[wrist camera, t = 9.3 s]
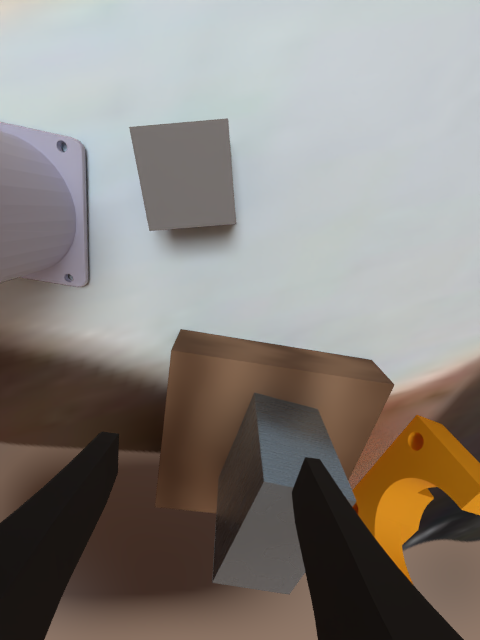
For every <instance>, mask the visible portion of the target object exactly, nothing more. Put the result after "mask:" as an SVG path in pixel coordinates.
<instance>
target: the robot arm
mask: <svg viewBox="0 0 480 640" xmlns="http://www.w3.org/2000/svg"><path fill="white" fill-rule="evenodd" d="M63 142H65V143H66V145H67V150H66V151H65V152H63V151H62V149H61V144H62V143H63ZM68 274H70V275H71V276H72V277H73V281H72V280H70V279H69V278H68ZM18 277H21V278H27V279H33V280H39V281H45V282H51V283H57V284H62V285H68V286H74V287H82V286H84V285H86V284H87V283H88V244H87V201H86V158H85V148H84V146H83V144H82V143H81V142H80V141H79V140H77V139H74V138H72V137H68V136H63V135H59V134H54V133H49V132H45V131H40V130H35V129H31V128H26V127H22V126H17V125H12V124H8V123H3V122H0V283H2V282H5V281H8V280H11V279H15V278H18ZM118 444H119V434H116V433H108V432H101V433H99V434H98V435H97V436H96V437H95V438H94V439H93V440H92V441H91V442H90V443H89V444H88V445H87V446H86V447H85V448H84V449H83V450H82V451H81V452H80V453H79V454H78V455H77V456H76V457H75V458H74V459H73V460H72V461H71V462H70V463H69V464H68V465H67V466H66V467H65V468H63V469H62V470H61V471H60V472H59V473H58V474H57V475H56V476H55V477H54V478H53V479H51V481H49V482H48V483H47V484H46V485H45V486H44V487H43V488H41V489H40V490H39V491H38V492H37V493H36V494H34V495H33V496H32V497H31V498H30V499H29V500H27V501H26V502H25V503H24V504H23V505H22V506H20V507H19V508H18V509H17V510H16V511H14V513H12V514H11V515H10V516H8V517H7V518H6V519H5V520H3V521H2V522H1V523H0V640H44V639H45V636H46V634H47V631H48V629H49V626H50V624H51V621H52V619H53V617H54V614H55V612H56V609H57V607H58V604H59V601H60V599H61V597H62V595H63V592H64V590H65V588H66V586H67V584H68V582H69V579H70V577H71V575H72V573H73V571H74V569H75V567H76V565H77V563H78V561H79V559H80V557H81V555H82V553H83V551H84V549H85V547H86V545H87V542H88V540H89V538H90V536H91V534H92V532H93V530H94V528H95V526H96V524H97V522H98V520H99V518H100V516H101V514H102V511H103V509H104V507H105V505H106V503H107V500H108V498H109V495H110V492H111V490H112V487H113V484H114V482H115V479H116V476H117V473H118ZM292 501H293V511H294V519H295V525H296V530H297V535H298V540H299V544H300V549H301V554H302V558H303V563H304V567H305V572H306V576H307V581H308V586H309V590H310V595H311V599H312V605H313V610H314V616H315V621H316V629H317V636H318V640H464V639H463V638H462V637H461V636H460V635H459V634H458V633H457V632H456V631H455V630H454V629H453V628H452V627H451V626H450V625H449V624H448V623H447V622H446V620H445V619H444V618H443V617H442V616H441V615H440V614H439V613H438V612H437V611H436V610H435V609H434V608H433V607H432V605H431V604H430V603H429V602H428V601H427V600H426V599H425V598H424V597H423V596H422V594H421V593H420V592H419V591H418V590H417V589H416V588H415V586H414V585H413V584H412V583H411V582H410V581H409V579H408V578H407V577H406V576H405V575H404V574H403V572H402V571H401V570H400V569H399V568H398V566H397V565H396V564H395V563H394V562H393V560H392V559H391V558H390V557H389V555H388V554H387V553H386V552H385V550H384V549H383V548H382V547H381V545H380V544H379V543H378V541H377V540H376V539H375V537H374V536H373V535H372V534H371V532H370V531H369V529H368V528H367V527H366V525H365V524H364V523H363V521H362V520H361V518H360V517H359V516H358V514H357V513H356V511H355V510H354V509H353V507H352V506H351V504H350V503H349V502H348V500H347V499H346V497H345V496H344V494H343V493H342V491H341V490H340V488H339V487H338V485H337V484H336V482H335V481H334V479H333V478H332V476H331V475H330V473H329V472H328V470H327V469H326V467H325V466H324V464H323V463H322V462H321V460H320V459H316V458H308V457H305V458H304V461H303V464H302V466H301V469H300V471H299V474H298V477H297V479H296V482H295V485H294V487H293V490H292Z"/></svg>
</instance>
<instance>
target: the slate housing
mask: <svg viewBox="0 0 480 640" xmlns="http://www.w3.org/2000/svg"><path fill="white" fill-rule="evenodd" d="M305 457H308V458H316V459H320V460H321V462H322V463H323V464H324V466H325V467H326V469H327V470H328V472H329V473H330V475H331V476H332V478H333V479H334V481H335V482H336V484H337V485H338V487H339V488H340V490H341V491H342V493H343V494H344V496H345V497H346V499H347V500H348V502H349V503H350V504H351V506H352V507H353V505H354V504H355V503H356V499H355V496H354V494H353V491H352V489H351V487H350V484H349V482H348V480H347V477H346V475H345V472H344V470H343V468H342V465H341V463H340V461H339V458H338V456H337V453H336V451H335V449H334V446H333V444H332V442H331V439H330V437H329V434H328V432H327V430H326V427H325V425H324V423H323V420H322V418H321V415H320V413H319V411H318V409H316V408H312V407H308V406H304V405H300V404H297V403H293V402H289V401H285V400H281V399H277V398H273V397H270V396H266V395H262V394H258V393H254V395H253V397H252V399H251V402H250V404H249V406H248V409H247V411H246V414H245V416H244V418H243V421H242V423H241V426H240V428H239V430H238V433H237V435H236V437H235V440H234V442H233V445H232V447H231V449H230V452H229V454H228V457H227V459H226V461H225V464H224V466H223V469H222V471H221V473H220V476H219V479H218V496H217V512H216V529H215V530H216V531H215V547H214V563H213V579H212V580H213V581H212V582H213V583H219V584H225V585H231V586H238V587H244V588H251V589H258V590H264V591H270V592H277V593H283V594H290V593H291V591H292V590H293V589H294V587H295V586H296V584H297V583H298V582H299V580H300V579H301V577H302V576H303V575H304V573H305V567H304V563H303V558H302V554H301V549H300V544H299V540H298V535H297V530H296V525H295V519H294V511H293V501H292V490H293V487H294V485H295V482H296V479H297V477H298V474H299V471H300V469H301V466H302V464H303V461H304V458H305Z"/></svg>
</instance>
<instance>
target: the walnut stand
mask: <svg viewBox="0 0 480 640" xmlns="http://www.w3.org/2000/svg"><path fill="white" fill-rule="evenodd" d="M393 387H394V384H393V383H392V382H391V380H390V379H389V378H388V377H387V376H386V375H385V374H384V373H383V372H382V371H381V370H380V368H379V367H378V366H377V365H376V364H375V363H374V362H373V361H372V360H368V359H362V358H355V357H349V356H343V355H337V354H331V353H324V352H318V351H312V350H306V349H300V348H293V347H287V346H281V345H275V344H269V343H262V342H256V341H250V340H244V339H238V338H232V337H225V336H219V335H213V334H207V333H201V332H194V331H188V330H182V329H181V330H180V332H179V335H178V337H177V339H176V341H175V343H174V346H173V348H172V350H171V359H170V368H169V378H168V387H167V397H166V406H165V416H164V426H163V435H162V445H161V454H160V465H159V473H158V483H157V492H156V502H155V507H161V508H170V509H179V510H190V511H200V512H210V513H216V512H217V496H218V479H219V476H220V473H221V471H222V469H223V466H224V464H225V461H226V459H227V457H228V454H229V452H230V449H231V447H232V445H233V442H234V440H235V437H236V435H237V433H238V430H239V428H240V426H241V423H242V421H243V418H244V416H245V414H246V411H247V409H248V406H249V404H250V402H251V399H252V397H253V395H254V393H258V394H262V395H266V396H270V397H273V398H277V399H281V400H285V401H289V402H293V403H297V404H300V405H304V406H308V407H312V408H316V409H318V411H319V413H320V415H321V418H322V420H323V423H324V425H325V427H326V430H327V432H328V434H329V437H330V439H331V442H332V444H333V446H334V449H335V451H336V453H337V456H338V458H339V461H340V463H341V465H342V468H343V470H344V472H345V475H346V477H347V480H349V478H350V476H351V474H352V471H353V469H354V467H355V465H356V463H357V461H358V459H359V457H360V455H361V453H362V451H363V449H364V447H365V445H366V443H367V440H368V438H369V436H370V434H371V432H372V430H373V428H374V426H375V424H376V422H377V420H378V418H379V416H380V414H381V411H382V409H383V407H384V405H385V403H386V401H387V399H388V397H389V395H390V393H391V391H392V389H393Z"/></svg>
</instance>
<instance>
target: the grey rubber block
mask: <svg viewBox="0 0 480 640" xmlns="http://www.w3.org/2000/svg"><path fill="white" fill-rule="evenodd" d="M129 128H130V133H131V138H132V144H133V149H134V154H135V159H136V164H137V169H138V174H139V179H140V185H141V190H142V195H143V200H144V205H145V210H146V215H147V221H148V226H149V231H155V230H167V229H179V228H191V227H204V226H216V225H228V224H236V215H235V203H234V190H233V177H232V164H231V151H230V138H229V125H228V119H217V120H206V121H194V122H183V123H171V124H160V125H148V126H137V127H129Z"/></svg>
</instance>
